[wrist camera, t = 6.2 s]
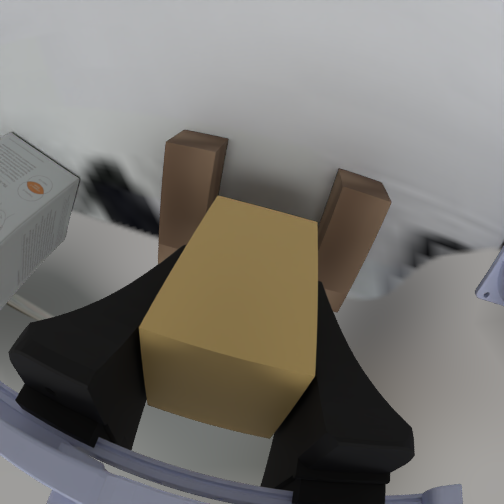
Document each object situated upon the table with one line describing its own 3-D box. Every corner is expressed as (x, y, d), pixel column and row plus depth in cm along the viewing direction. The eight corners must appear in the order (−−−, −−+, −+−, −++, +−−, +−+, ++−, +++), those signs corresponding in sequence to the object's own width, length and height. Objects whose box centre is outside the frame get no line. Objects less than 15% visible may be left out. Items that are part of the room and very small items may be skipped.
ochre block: (317, 222, 12) (315, 375, 7) (289, 296, 15) (269, 438, 9) (217, 195, 12) (138, 327, 7) (205, 273, 15) (147, 405, 9)
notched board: (381, 182, 16) (391, 202, 14) (336, 285, 20) (337, 312, 18) (184, 129, 16) (165, 141, 14) (172, 241, 21) (158, 263, 19)
